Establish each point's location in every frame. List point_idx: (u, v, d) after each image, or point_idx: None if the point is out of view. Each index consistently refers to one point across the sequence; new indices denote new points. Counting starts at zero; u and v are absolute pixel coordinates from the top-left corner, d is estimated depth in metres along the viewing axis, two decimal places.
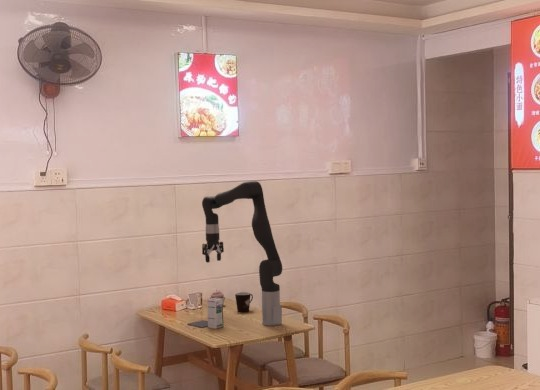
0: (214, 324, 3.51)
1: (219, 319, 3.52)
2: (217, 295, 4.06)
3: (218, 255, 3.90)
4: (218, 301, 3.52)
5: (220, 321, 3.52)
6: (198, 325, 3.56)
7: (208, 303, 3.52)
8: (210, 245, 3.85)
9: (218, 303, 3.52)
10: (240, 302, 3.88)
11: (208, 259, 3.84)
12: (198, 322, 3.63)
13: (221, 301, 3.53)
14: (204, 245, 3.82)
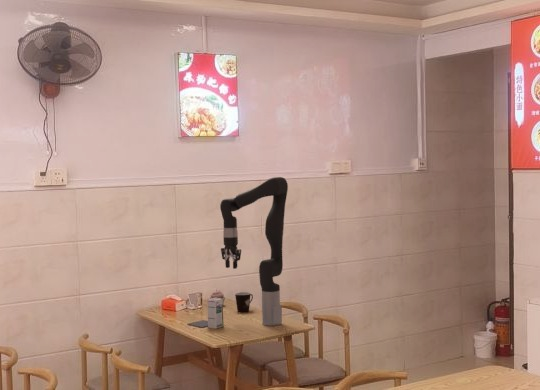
0: (214, 324, 3.51)
1: (219, 319, 3.52)
2: (217, 295, 4.06)
3: (228, 262, 3.72)
4: (218, 301, 3.52)
5: (220, 321, 3.52)
6: (198, 325, 3.56)
7: (208, 303, 3.52)
8: None
9: (218, 303, 3.52)
10: (240, 302, 3.88)
11: None
12: (198, 322, 3.63)
13: (221, 301, 3.53)
14: (240, 251, 3.66)
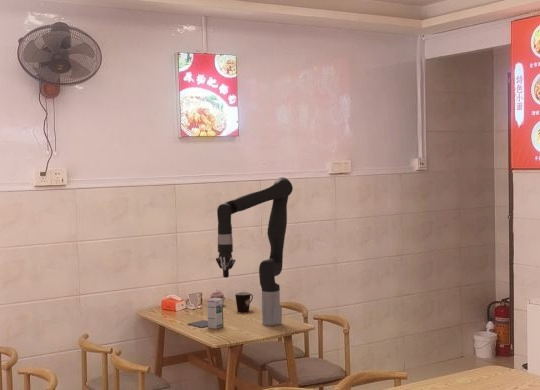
0: (214, 324, 3.51)
1: (219, 319, 3.52)
2: (217, 295, 4.06)
3: None
4: (218, 301, 3.52)
5: (220, 321, 3.52)
6: (198, 325, 3.56)
7: (208, 303, 3.52)
8: None
9: (218, 303, 3.52)
10: (240, 302, 3.88)
11: None
12: (198, 322, 3.63)
13: (221, 301, 3.53)
14: (233, 261, 3.48)
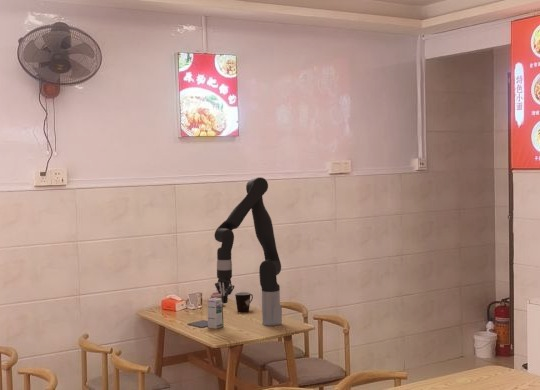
0: (214, 324, 3.51)
1: (219, 319, 3.52)
2: (217, 295, 4.06)
3: None
4: (218, 301, 3.52)
5: (220, 321, 3.52)
6: (198, 325, 3.56)
7: (208, 303, 3.52)
8: None
9: (218, 303, 3.52)
10: (240, 302, 3.88)
11: None
12: (198, 322, 3.63)
13: (221, 301, 3.53)
14: (232, 287, 3.44)
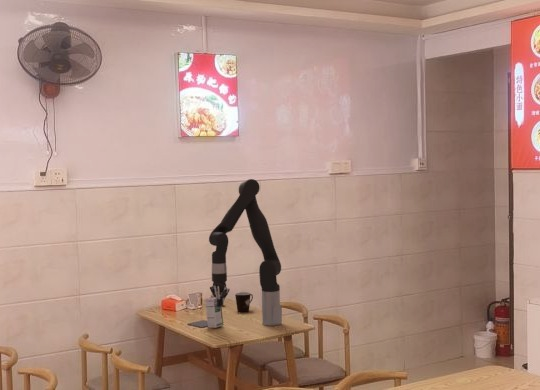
0: (214, 323, 3.51)
1: (219, 318, 3.52)
2: None
3: None
4: (216, 300, 3.52)
5: (219, 320, 3.53)
6: (198, 325, 3.56)
7: (206, 303, 3.53)
8: None
9: None
10: (240, 302, 3.88)
11: None
12: (198, 322, 3.63)
13: None
14: (228, 291, 3.47)
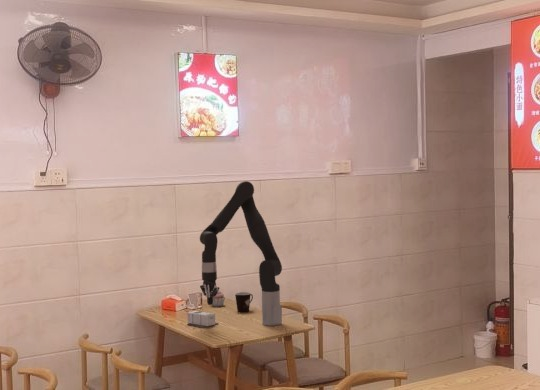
0: (204, 317, 3.55)
1: (205, 313, 3.58)
2: (217, 295, 4.06)
3: None
4: (192, 311, 3.63)
5: (207, 313, 3.58)
6: (198, 325, 3.56)
7: (190, 321, 3.61)
8: None
9: (194, 311, 3.63)
10: (240, 302, 3.88)
11: None
12: None
13: (195, 311, 3.65)
14: (217, 289, 3.52)
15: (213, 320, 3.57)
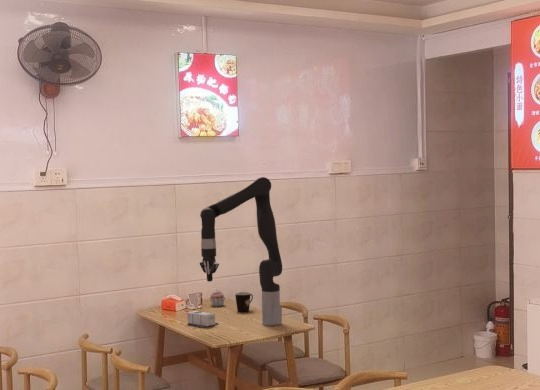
0: (204, 317, 3.55)
1: (205, 313, 3.58)
2: (217, 295, 4.06)
3: None
4: (192, 311, 3.63)
5: (207, 313, 3.58)
6: (198, 325, 3.56)
7: (190, 321, 3.61)
8: None
9: (194, 311, 3.63)
10: (240, 302, 3.88)
11: None
12: None
13: (195, 311, 3.65)
14: (217, 265, 3.52)
15: (213, 320, 3.57)
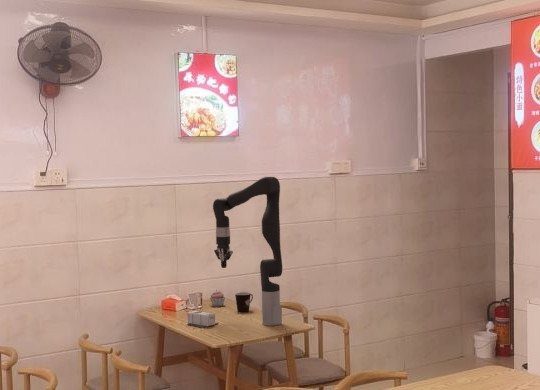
0: (204, 317, 3.55)
1: (205, 313, 3.58)
2: (217, 295, 4.06)
3: None
4: (192, 311, 3.63)
5: (207, 313, 3.58)
6: (198, 325, 3.56)
7: (190, 321, 3.61)
8: None
9: (194, 311, 3.63)
10: (240, 302, 3.88)
11: None
12: None
13: (195, 311, 3.65)
14: (231, 253, 3.71)
15: (213, 320, 3.57)
